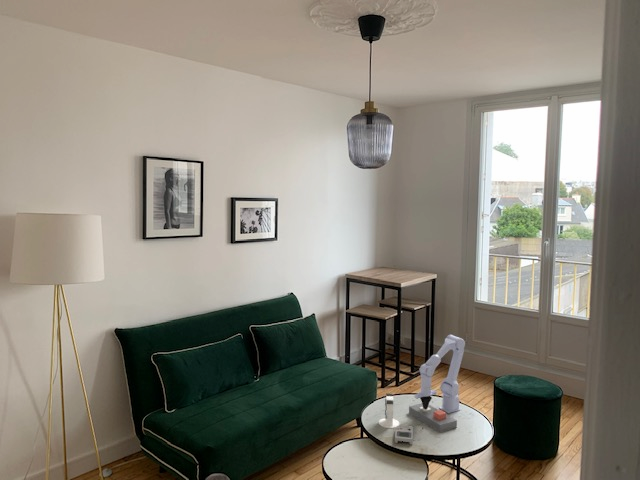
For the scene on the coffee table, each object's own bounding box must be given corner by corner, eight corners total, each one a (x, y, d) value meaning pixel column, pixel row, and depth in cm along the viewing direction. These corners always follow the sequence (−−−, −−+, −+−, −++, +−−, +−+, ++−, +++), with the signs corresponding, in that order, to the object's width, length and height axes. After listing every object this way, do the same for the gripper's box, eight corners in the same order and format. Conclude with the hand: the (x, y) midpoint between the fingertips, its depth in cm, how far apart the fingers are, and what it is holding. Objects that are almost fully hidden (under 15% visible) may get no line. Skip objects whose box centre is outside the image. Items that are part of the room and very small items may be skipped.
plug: (419, 414, 280) (419, 407, 280) (425, 412, 282) (425, 405, 282) (424, 417, 276) (424, 410, 276) (431, 415, 278) (431, 409, 278)
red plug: (433, 418, 269) (433, 411, 269) (439, 416, 272) (440, 409, 271) (439, 421, 265) (439, 414, 265) (445, 420, 268) (446, 413, 267)
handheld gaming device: (412, 432, 260) (413, 425, 260) (412, 446, 245) (412, 438, 245) (396, 431, 262) (396, 424, 261) (394, 444, 247) (394, 437, 247)
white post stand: (378, 417, 276) (379, 392, 275) (398, 418, 275) (399, 393, 274) (379, 427, 264) (379, 400, 263) (400, 428, 263) (400, 402, 262)
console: (408, 412, 283) (409, 406, 282) (424, 408, 288) (425, 402, 288) (439, 432, 260) (440, 425, 259) (456, 427, 266) (456, 420, 265)
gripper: (431, 381, 285) (430, 403, 286) (411, 385, 278) (410, 408, 279) (439, 385, 278) (438, 408, 280) (419, 389, 272) (418, 413, 273)
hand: (425, 408), depth 279 cm, fingers closed, pressing on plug
